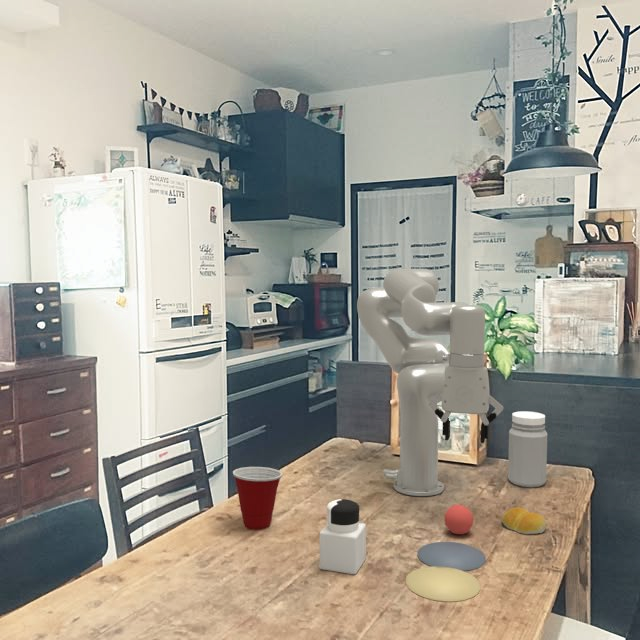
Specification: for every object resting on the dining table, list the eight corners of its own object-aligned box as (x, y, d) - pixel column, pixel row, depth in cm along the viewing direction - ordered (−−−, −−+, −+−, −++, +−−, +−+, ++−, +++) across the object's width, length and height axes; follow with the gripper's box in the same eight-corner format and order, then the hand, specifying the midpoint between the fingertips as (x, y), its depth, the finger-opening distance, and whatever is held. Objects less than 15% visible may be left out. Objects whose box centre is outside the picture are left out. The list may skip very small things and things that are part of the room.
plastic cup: (293, 524, 147) (293, 470, 146) (255, 539, 139) (255, 482, 138) (259, 512, 155) (259, 460, 154) (222, 525, 147) (222, 471, 146)
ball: (442, 536, 141) (442, 508, 140) (446, 526, 146) (446, 499, 146) (471, 540, 139) (472, 512, 138) (474, 529, 144) (474, 502, 144)
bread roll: (532, 539, 140) (533, 520, 140) (496, 526, 147) (496, 508, 147) (554, 529, 146) (554, 511, 145) (517, 517, 152) (518, 500, 152)
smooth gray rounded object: (411, 565, 127) (411, 564, 127) (423, 539, 139) (423, 538, 139) (482, 575, 123) (482, 574, 123) (488, 547, 135) (488, 546, 135)
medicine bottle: (366, 559, 130) (366, 498, 129) (355, 575, 123) (356, 511, 122) (330, 554, 132) (331, 494, 131) (318, 569, 125) (318, 506, 124)
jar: (550, 480, 178) (552, 413, 177) (540, 491, 170) (542, 420, 168) (513, 474, 183) (515, 409, 182) (502, 484, 175) (504, 415, 174)
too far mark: (399, 594, 116) (399, 593, 116) (412, 563, 128) (412, 562, 128) (476, 606, 112) (476, 605, 112) (483, 573, 124) (483, 572, 124)
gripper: (424, 361, 148) (423, 441, 149) (506, 365, 143) (504, 448, 144) (429, 357, 155) (428, 433, 156) (508, 360, 150) (506, 439, 151)
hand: (465, 439), depth 150 cm, fingers open, 7 cm apart
